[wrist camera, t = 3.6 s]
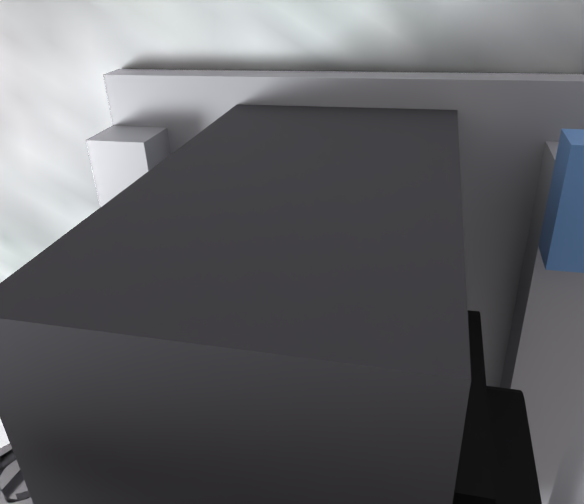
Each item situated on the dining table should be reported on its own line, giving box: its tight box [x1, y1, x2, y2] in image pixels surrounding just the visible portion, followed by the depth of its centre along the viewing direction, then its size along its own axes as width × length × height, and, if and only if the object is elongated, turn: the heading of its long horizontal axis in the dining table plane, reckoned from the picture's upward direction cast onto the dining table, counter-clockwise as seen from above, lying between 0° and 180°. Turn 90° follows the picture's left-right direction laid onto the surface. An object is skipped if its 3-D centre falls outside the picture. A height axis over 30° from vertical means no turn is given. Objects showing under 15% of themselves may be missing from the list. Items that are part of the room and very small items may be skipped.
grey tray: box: [86, 69, 584, 504], centre depth 11 cm, size 12×18×3 cm, turn 92°
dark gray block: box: [0, 104, 471, 504], centre depth 9 cm, size 9×4×7 cm, turn 2°
